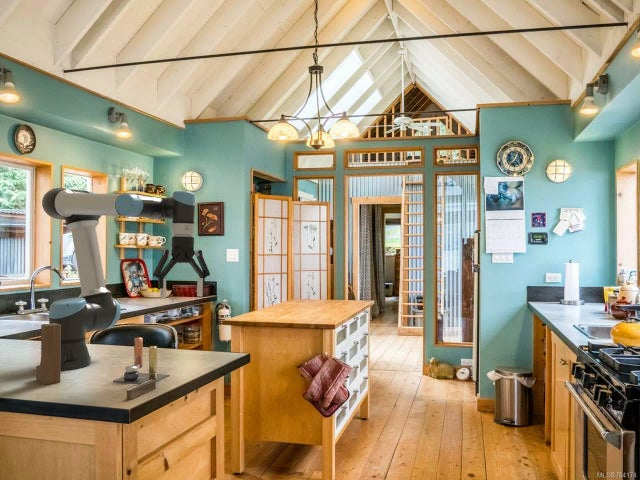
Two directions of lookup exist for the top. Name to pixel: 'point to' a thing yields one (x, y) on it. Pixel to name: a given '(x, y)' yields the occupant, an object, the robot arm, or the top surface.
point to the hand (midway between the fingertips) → (181, 297)
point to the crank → (136, 356)
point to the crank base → (144, 377)
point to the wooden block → (50, 354)
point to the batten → (141, 389)
